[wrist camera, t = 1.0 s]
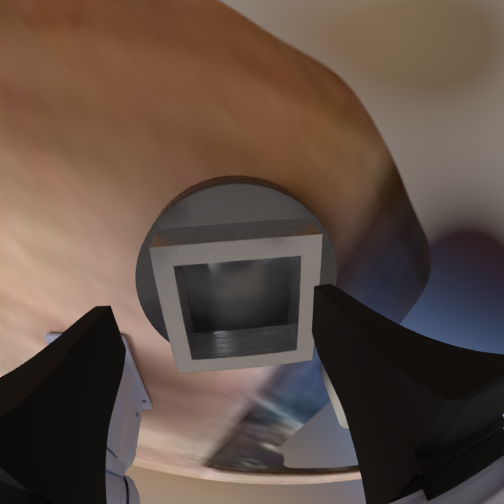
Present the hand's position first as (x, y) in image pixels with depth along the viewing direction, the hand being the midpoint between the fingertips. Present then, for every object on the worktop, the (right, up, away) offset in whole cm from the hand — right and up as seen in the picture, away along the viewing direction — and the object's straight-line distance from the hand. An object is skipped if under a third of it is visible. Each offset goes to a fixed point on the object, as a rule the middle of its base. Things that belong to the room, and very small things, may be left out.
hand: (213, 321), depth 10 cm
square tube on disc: (0, +1, +10) cm, 10 cm away
